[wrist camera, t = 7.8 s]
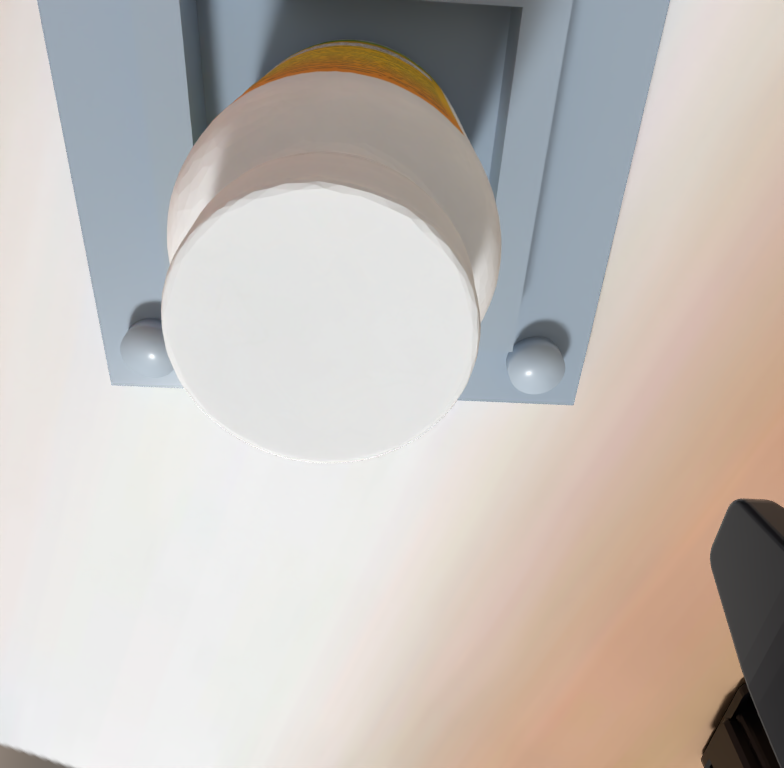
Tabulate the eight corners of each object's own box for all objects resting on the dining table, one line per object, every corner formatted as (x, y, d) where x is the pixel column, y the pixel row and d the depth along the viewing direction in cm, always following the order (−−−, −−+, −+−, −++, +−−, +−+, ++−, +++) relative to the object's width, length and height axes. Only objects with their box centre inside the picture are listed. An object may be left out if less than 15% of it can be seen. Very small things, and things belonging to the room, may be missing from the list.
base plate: (690, -176, 14) (747, -206, 12) (564, 384, 21) (584, 431, 19) (19, -227, 14) (-52, -266, 11) (124, 365, 21) (93, 411, 19)
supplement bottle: (198, 116, 16) (-6, 266, 8) (392, -14, 15) (402, -5, 6) (321, 295, 18) (269, 556, 10) (497, 198, 17) (604, 406, 9)
